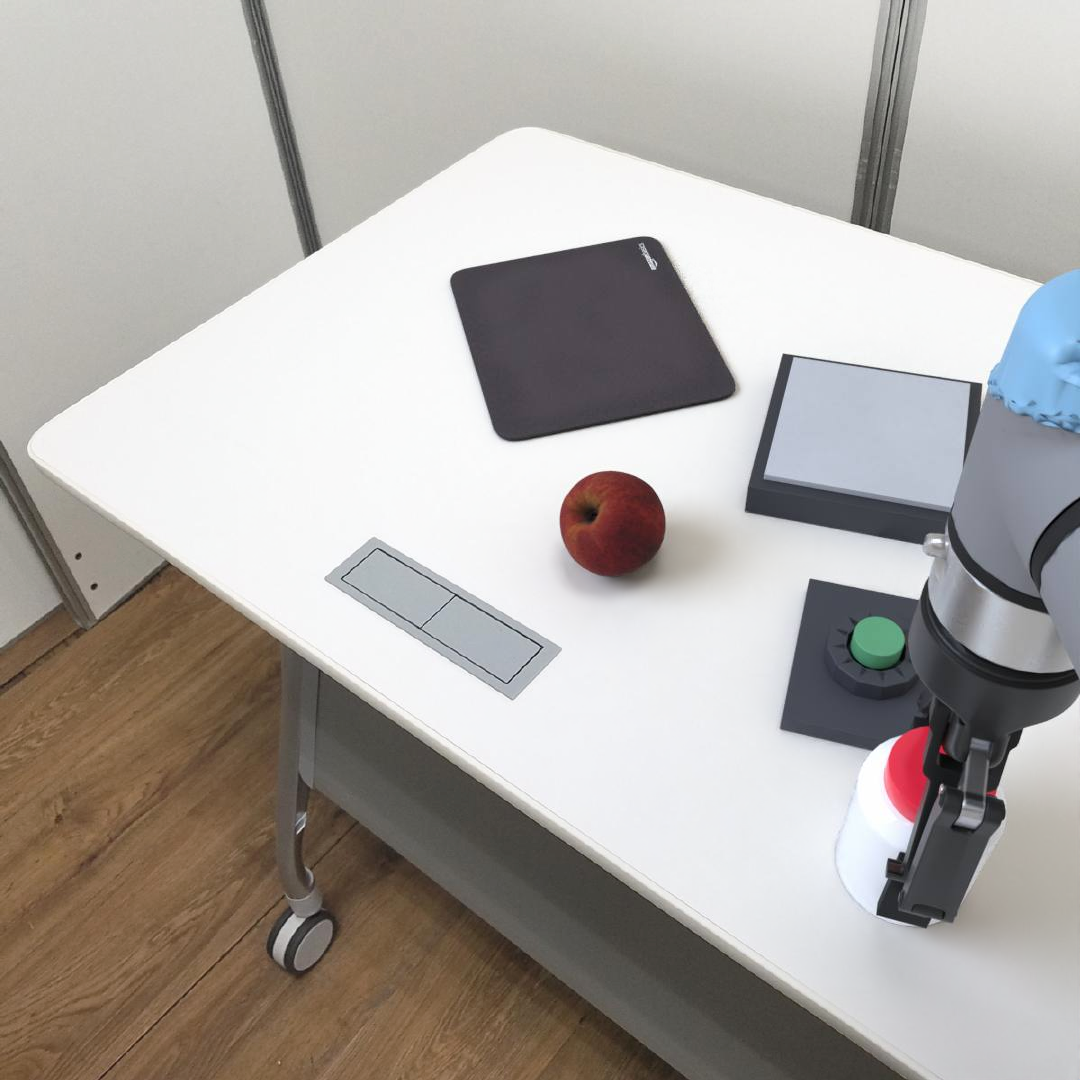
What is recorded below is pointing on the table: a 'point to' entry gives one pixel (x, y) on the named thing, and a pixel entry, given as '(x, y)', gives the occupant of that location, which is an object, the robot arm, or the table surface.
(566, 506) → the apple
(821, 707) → the button base
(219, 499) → the table surface
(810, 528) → the table surface
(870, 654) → the green button
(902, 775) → the pill bottle
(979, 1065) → the table surface
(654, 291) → the mouse pad
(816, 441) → the scale
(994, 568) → the robot arm
